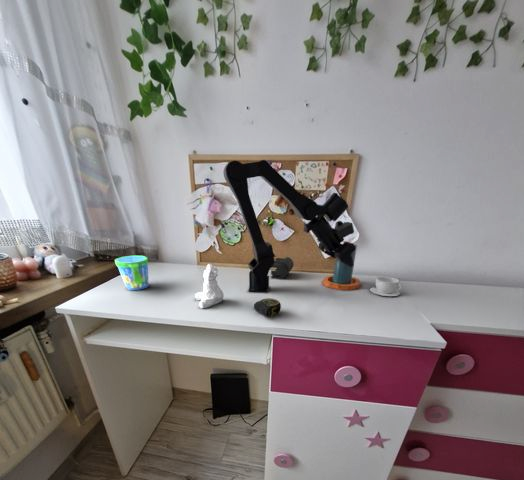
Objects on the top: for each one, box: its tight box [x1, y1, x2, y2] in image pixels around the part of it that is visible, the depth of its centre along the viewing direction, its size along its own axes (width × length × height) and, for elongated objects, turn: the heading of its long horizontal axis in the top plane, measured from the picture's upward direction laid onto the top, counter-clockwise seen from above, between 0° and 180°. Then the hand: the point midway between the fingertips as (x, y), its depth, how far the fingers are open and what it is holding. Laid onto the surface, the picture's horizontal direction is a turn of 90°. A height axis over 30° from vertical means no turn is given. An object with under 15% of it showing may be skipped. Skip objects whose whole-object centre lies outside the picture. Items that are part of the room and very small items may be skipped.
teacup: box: [369, 276, 403, 297], centre depth 96 cm, size 10×10×5 cm
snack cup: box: [114, 255, 149, 291], centre depth 97 cm, size 16×10×10 cm
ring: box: [322, 274, 362, 291], centre depth 104 cm, size 14×14×2 cm
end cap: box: [270, 256, 294, 280], centre depth 112 cm, size 10×7×7 cm
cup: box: [331, 244, 358, 284], centre depth 101 cm, size 7×7×14 cm
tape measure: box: [253, 298, 282, 318], centre depth 79 cm, size 7×7×4 cm
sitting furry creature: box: [194, 263, 225, 309], centre depth 85 cm, size 10×9×12 cm
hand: (347, 263), depth 101 cm, fingers closed on cup, 7 cm apart
